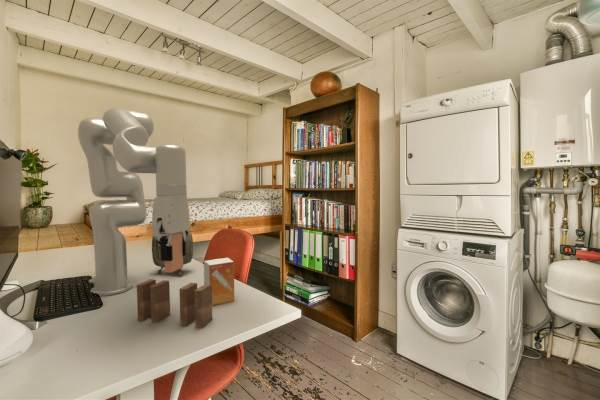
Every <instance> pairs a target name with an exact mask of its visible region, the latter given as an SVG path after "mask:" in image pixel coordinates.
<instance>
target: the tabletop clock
mask: <svg viewBox="0 0 600 400" xmlns="http://www.w3.org/2000/svg"><path fill="white" fill-rule="evenodd" d="M164 234H166V233H164ZM185 242H186V255H185V256H183V266H185V265H187V264H189V263H191V262H192V260H193V257H194V240H193V235H192V233H191V232H190V231H189V232H188V235H187V240H186V241H185ZM151 254H152V262H153V264H154V265H155V266H156V267H159V268H160V269H158V270H157V274H161V273H162V270H163V268H164V269H165V261H162V260H161V248H160V246H159V243H158V242H157V241H156V240H155V239H154V238H153V237H152V240H151ZM175 272H178V276H179V277H182V276H183V274H184V273H183V271H182V268H180V269H178V270H176V271H175Z"/></svg>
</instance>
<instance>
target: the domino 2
mask: <svg viewBox="0 0 600 400" xmlns="http://www.w3.org/2000/svg"><path fill="white" fill-rule="evenodd" d="M151 316H152V317H151V323H156V324H158V323H160V322H161V321H163V320H164V319H167V318H168V317H169V316H171V294H170V280H168V279H167V280H165V279H163V280H160V281H159V282H156V284H154V285H152V286H151Z"/></svg>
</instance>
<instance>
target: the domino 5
mask: <svg viewBox="0 0 600 400" xmlns="http://www.w3.org/2000/svg"><path fill="white" fill-rule="evenodd" d="M212 321H213V306H212V284H204V283H203V284H202V285H201V286H199V287H197V289H196V290H195V321H194V323H195V324H194V325H195V329H196V328H197V329H204V328H205V327H206V326H207V325H209V324H210V323H211V322H212Z"/></svg>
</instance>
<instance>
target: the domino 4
mask: <svg viewBox="0 0 600 400" xmlns="http://www.w3.org/2000/svg"><path fill="white" fill-rule="evenodd" d="M196 289H198V283H197V282H189V283H187V284H186V285H184V286H182V287H181V288H179V314H180V315H179V320H180V324H179V325H180V326H181V327H189V326H190V325H191V324H193V323H195V290H196Z"/></svg>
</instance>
